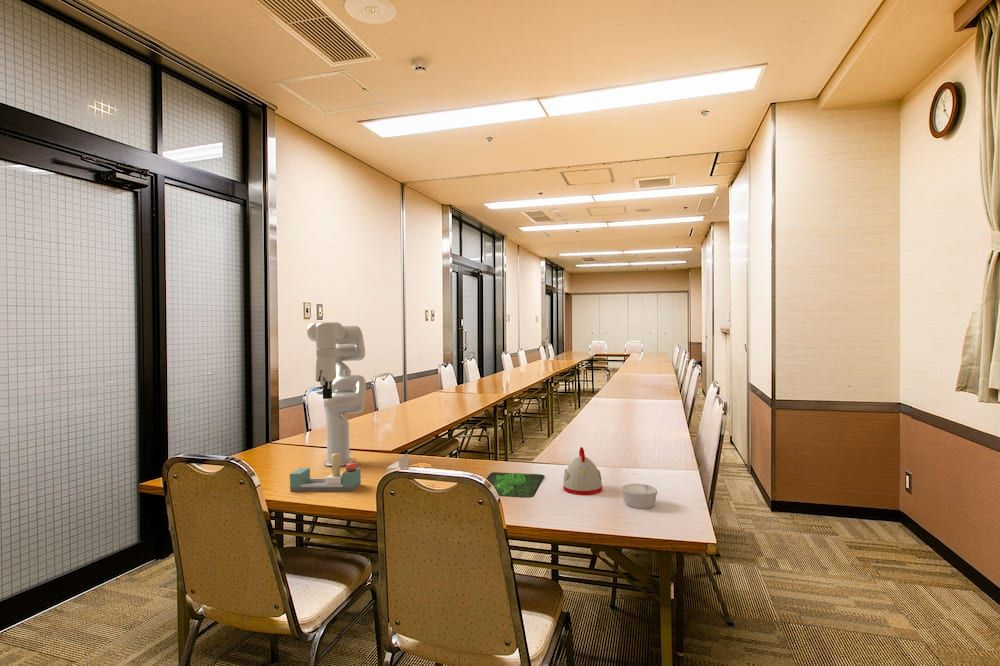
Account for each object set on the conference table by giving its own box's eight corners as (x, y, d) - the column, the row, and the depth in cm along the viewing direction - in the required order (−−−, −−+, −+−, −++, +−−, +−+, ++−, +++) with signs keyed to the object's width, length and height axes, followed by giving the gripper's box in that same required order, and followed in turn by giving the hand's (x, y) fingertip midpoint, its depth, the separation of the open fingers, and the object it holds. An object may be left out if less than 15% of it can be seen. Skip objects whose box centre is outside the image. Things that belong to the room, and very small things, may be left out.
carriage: (331, 480, 195) (330, 452, 195) (346, 480, 194) (346, 452, 194) (325, 485, 189) (324, 456, 189) (340, 485, 188) (340, 456, 188)
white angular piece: (397, 493, 183) (396, 452, 183) (410, 493, 182) (409, 453, 182) (387, 501, 175) (386, 458, 175) (400, 502, 174) (399, 459, 174)
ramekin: (665, 507, 163) (664, 490, 163) (636, 513, 159) (636, 496, 159) (642, 497, 173) (641, 481, 173) (615, 502, 169) (614, 486, 169)
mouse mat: (533, 499, 175) (533, 496, 175) (472, 495, 180) (472, 493, 180) (545, 476, 201) (544, 473, 201) (491, 474, 206) (491, 471, 206)
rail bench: (300, 484, 197) (299, 467, 197) (360, 484, 195) (360, 467, 195) (290, 491, 189) (289, 473, 189) (353, 491, 187) (352, 473, 187)
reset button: (348, 467, 193) (348, 462, 193) (358, 467, 193) (358, 462, 193) (344, 470, 189) (344, 465, 189) (354, 470, 189) (354, 465, 189)
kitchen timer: (565, 495, 176) (564, 452, 176) (561, 483, 190) (560, 443, 190) (605, 495, 176) (604, 451, 176) (598, 483, 190) (597, 443, 190)
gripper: (324, 352, 212) (326, 396, 213) (309, 354, 198) (310, 401, 198) (342, 352, 212) (343, 395, 212) (327, 353, 197) (329, 401, 197)
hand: (327, 398), depth 205 cm, fingers closed
